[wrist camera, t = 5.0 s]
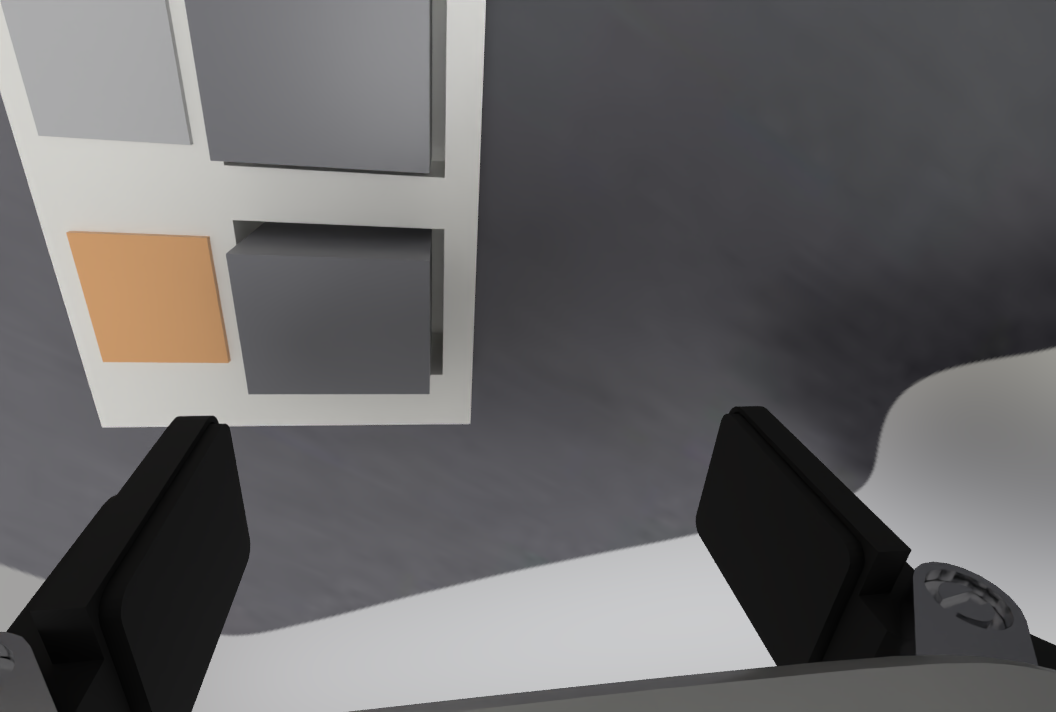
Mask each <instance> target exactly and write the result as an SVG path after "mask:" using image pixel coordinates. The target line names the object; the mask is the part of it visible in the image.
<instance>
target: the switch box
mask: <svg viewBox="0 0 1056 712" xmlns="http://www.w3.org/2000/svg"><path fill="white" fill-rule="evenodd" d="M485 13H486V0H432V159H431V166H430V173H413V172H396V171H379V170H361V169H344V168H327V167H310V166H293V165H276V164H258V163H241V162H224V161H211V160H210V154H209V148H208V142H207V136H206V130H205V124H204V117H203V111H202V105H201V99H200V93H199V87H198V81H197V74H196V68H195V62H194V56H193V50H192V44H191V38H190V31H189V25H188V19H187V13H186V7H185V1H184V0H0V92H1V95H2V98H3V102H4V105H5V108H6V112H7V115H8V118H9V122H10V125H11V128H12V132H13V135H14V138H15V141H16V145H17V148H18V151H19V155H20V158H21V161H22V165H23V168H24V171H25V174H26V178H27V181H28V184H29V188H30V191H31V194H32V198H33V201H34V204H35V207H36V211H37V214H38V217H39V221H40V224H41V227H42V231H43V234H44V237H45V240H46V244H47V247H48V250H49V254H50V257H51V260H52V264H53V267H54V270H55V274H56V277H57V280H58V283H59V287H60V290H61V293H62V297H63V300H64V303H65V307H66V310H67V313H68V316H69V320H70V323H71V326H72V330H73V333H74V336H75V340H76V343H77V346H78V349H79V353H80V356H81V359H82V363H83V366H84V369H85V373H86V376H87V379H88V382H89V386H90V389H91V392H92V396H93V399H94V402H95V406H96V409H97V412H98V416H99V419H100V422H101V425H102V427H168V426H169V425H170V423H171V422H172V421H173V420H174V419H175V418H176V417H178V416H215V417H216V418H217V420H218V422H219V424H227V425H228V426H306V425H417V424H470V418H471V391H472V364H473V337H474V310H475V283H476V256H477V229H478V202H479V175H480V148H481V121H482V94H483V67H484V40H485ZM264 222H283V223H306V224H329V225H352V226H375V227H398V228H421V229H432V350H431V372H430V394H248V388H247V382H246V376H245V370H244V363H243V357H242V351H241V345H240V339H239V333H238V326H237V320H236V314H235V308H234V302H233V296H232V290H231V283H230V277H229V271H228V265H227V259H226V253H227V252H228V251H230V250H231V249H232V248H233V247H235V246H236V245H237V244H238V243H240V242H241V241H242V240H243V239H244V238H246V237H247V236H248V235H249V234H251V233H252V232H253V231H254V230H255V229H257V228H258V227H259V226H260V225H262V224H263V223H264Z"/></svg>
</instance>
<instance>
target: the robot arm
mask: <svg viewBox="0 0 1056 712" xmlns="http://www.w3.org/2000/svg"><path fill="white" fill-rule="evenodd" d="M696 527H697V531H698V533H699V536H700V537H701V539H702V541H703V542H704V544H705V546H706V547H707V549H708V551H709V552H710V554H711V556H712V558H713V559H714V561H715V563H716V564H717V566H718V567H719V569H720V571H721V573H722V574H723V576H724V578H725V579H726V581H727V583H728V584H729V586H730V588H731V589H732V591H733V593H734V595H735V596H736V598H737V600H738V601H739V603H740V605H741V606H742V608H743V610H744V611H745V613H746V615H747V616H748V618H749V620H750V621H751V623H752V625H753V626H754V628H755V630H756V632H757V633H758V635H759V637H760V638H761V640H762V642H763V643H764V645H765V647H766V648H767V650H768V652H769V653H770V655H771V657H772V658H773V660H774V662H775V663H776V665H777V666H775V667H765V668H755V669H745V670H735V671H724V672H715V673H704V674H694V675H686V676H685V675H684V676H674V677H666V678H656V679H646V680H637V681H626V682H617V683H608V684H598V685H588V686H579V687H569V688H560V689H551V690H542V691H532V692H523V693H513V694H504V695H495V696H486V697H476V698H467V699H458V700H450V701H440V702H431V703H422V704H414V705H405V706H396V707H386V708H378V709H369V710H360V711H351V712H1056V645H1054V644H1051V643H1049V642H1047V641H1045V640H1042V639H1040V638H1038V637H1036V636H1033V635H1031V634H1030V633H1029V629H1028V625H1027V621H1026V619H1025V617H1024V615H1023V613H1022V611H1021V609H1020V608H1019V607H1018V606H1017V605H1016V603H1015V602H1014V601H1013V600H1012V599H1011V598H1010V597H1009V596H1008V595H1007V594H1005V593H1004V592H1003V591H1002V590H1001V589H1000V588H998V587H997V586H996V585H994V584H993V583H991V582H989V581H988V580H986V579H984V578H983V577H981V576H979V575H977V574H975V573H973V572H971V571H968V570H966V569H964V568H960V567H958V566H954V565H951V564H947V563H939V562H929V563H923V564H921V565H920V566H918V567H917V568H915V570H914V569H913V568H912V567H911V566H910V565H909V564H908V563H907V562H906V560H907V558H908V556H909V554H910V552H911V549H910V548H909V547H908V546H907V545H906V544H905V543H904V542H903V541H902V540H901V539H900V538H899V537H898V536H897V535H896V534H894V532H893V531H892V530H890V529H889V528H888V527H887V526H886V525H885V524H884V523H883V522H882V521H881V520H880V519H879V518H878V517H877V516H876V515H875V514H874V513H873V512H872V511H871V510H870V509H869V508H868V507H867V506H866V505H865V504H864V503H863V502H862V501H861V500H860V499H859V498H858V497H856V496H855V494H854V493H852V492H851V491H850V490H849V489H848V488H847V487H846V486H845V485H844V484H843V483H842V482H841V481H840V480H839V479H838V478H837V477H836V476H835V475H834V474H833V473H832V472H831V471H830V470H829V469H828V468H827V467H826V466H825V465H824V464H823V463H822V462H821V461H820V460H819V459H818V458H817V457H816V456H814V455H813V454H812V453H811V452H810V451H809V450H808V449H807V448H806V447H805V446H804V445H803V444H802V443H801V442H800V441H799V440H798V439H797V438H796V437H795V436H794V435H793V434H792V433H791V432H790V431H789V430H788V429H787V428H786V427H785V426H784V425H783V424H782V423H781V422H780V421H779V420H778V419H776V418H775V417H774V416H773V415H772V414H771V413H770V412H769V411H768V410H767V409H766V408H764V407H761V406H746V407H734V408H732V409H731V411H730V412H729V414H726V415H724V416H723V418H722V420H721V424H720V427H719V431H718V435H717V439H716V443H715V446H714V450H713V454H712V458H711V462H710V465H709V469H708V473H707V477H706V481H705V484H704V488H703V492H702V496H701V500H700V503H699V507H698V511H697V515H696ZM249 553H250V538H249V532H248V527H247V521H246V515H245V510H244V504H243V499H242V493H241V488H240V482H239V476H238V471H237V465H236V460H235V454H234V449H233V443H232V438H231V432H230V428H229V426H228V425H227V424H219V422H218V420H217V418H216V417H215V416H178V417H176V418H175V419H174V420H173V421H172V422H171V423H170V425H169V426H168V427H167V429H166V430H165V431H164V433H163V434H162V435H161V437H160V438H159V439H158V441H157V442H156V443H155V445H154V446H153V447H152V449H151V450H150V451H149V453H148V454H147V455H146V457H145V458H144V459H143V461H142V462H141V463H140V465H139V466H138V467H137V469H136V470H135V471H134V473H133V474H132V475H131V477H130V478H129V479H128V481H127V482H126V483H125V485H124V486H123V487H122V489H121V490H120V491H119V493H118V494H117V495H115V496H113V497H111V498H110V499H109V500H108V501H107V502H106V503H105V504H104V505H103V506H102V507H101V509H100V510H99V511H98V512H97V514H96V515H95V516H94V518H93V519H92V520H91V522H90V523H89V524H88V526H87V527H86V528H85V529H84V531H83V532H82V533H81V535H80V536H79V537H78V539H77V540H76V541H75V543H74V544H73V545H72V546H71V548H70V549H69V550H68V552H67V553H66V554H65V556H64V557H63V558H62V560H61V561H60V562H59V563H58V565H57V566H56V567H55V569H54V570H53V571H52V573H51V574H50V575H49V577H48V578H47V579H46V581H45V582H44V583H43V584H42V586H41V587H40V588H39V590H38V591H37V592H36V594H35V595H34V596H33V598H32V599H31V600H30V602H29V603H28V604H27V605H26V607H25V608H24V609H23V611H22V612H21V613H20V615H19V616H18V617H17V618H16V620H15V621H14V623H13V624H12V625H11V626H10V628H9V629H8V630H7V632H0V712H191V711H192V709H193V705H194V703H195V701H196V698H197V695H198V693H199V690H200V687H201V685H202V682H203V679H204V677H205V674H206V671H207V669H208V666H209V663H210V661H211V658H212V655H213V653H214V650H215V647H216V645H217V642H218V639H219V637H220V634H221V631H222V629H223V626H224V623H225V621H226V618H227V615H228V613H229V610H230V607H231V605H232V602H233V599H234V597H235V594H236V591H237V589H238V586H239V583H240V581H241V578H242V575H243V573H244V570H245V567H246V565H247V562H248V559H249Z"/></svg>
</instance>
